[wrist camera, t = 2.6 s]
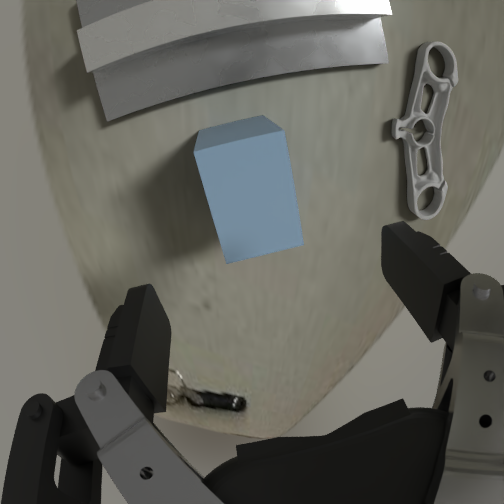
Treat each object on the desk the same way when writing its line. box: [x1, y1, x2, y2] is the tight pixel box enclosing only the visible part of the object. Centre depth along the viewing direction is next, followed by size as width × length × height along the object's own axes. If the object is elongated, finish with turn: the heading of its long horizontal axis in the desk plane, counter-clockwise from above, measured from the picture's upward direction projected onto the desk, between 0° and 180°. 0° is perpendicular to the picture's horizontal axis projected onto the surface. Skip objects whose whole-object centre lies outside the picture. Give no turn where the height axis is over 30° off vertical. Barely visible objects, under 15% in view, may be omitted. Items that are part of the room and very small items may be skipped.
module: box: [194, 115, 304, 264], centre depth 20 cm, size 4×7×7 cm
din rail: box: [76, 0, 392, 122], centre depth 15 cm, size 20×10×4 cm, turn 102°
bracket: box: [392, 42, 458, 220], centre depth 22 cm, size 8×2×15 cm
